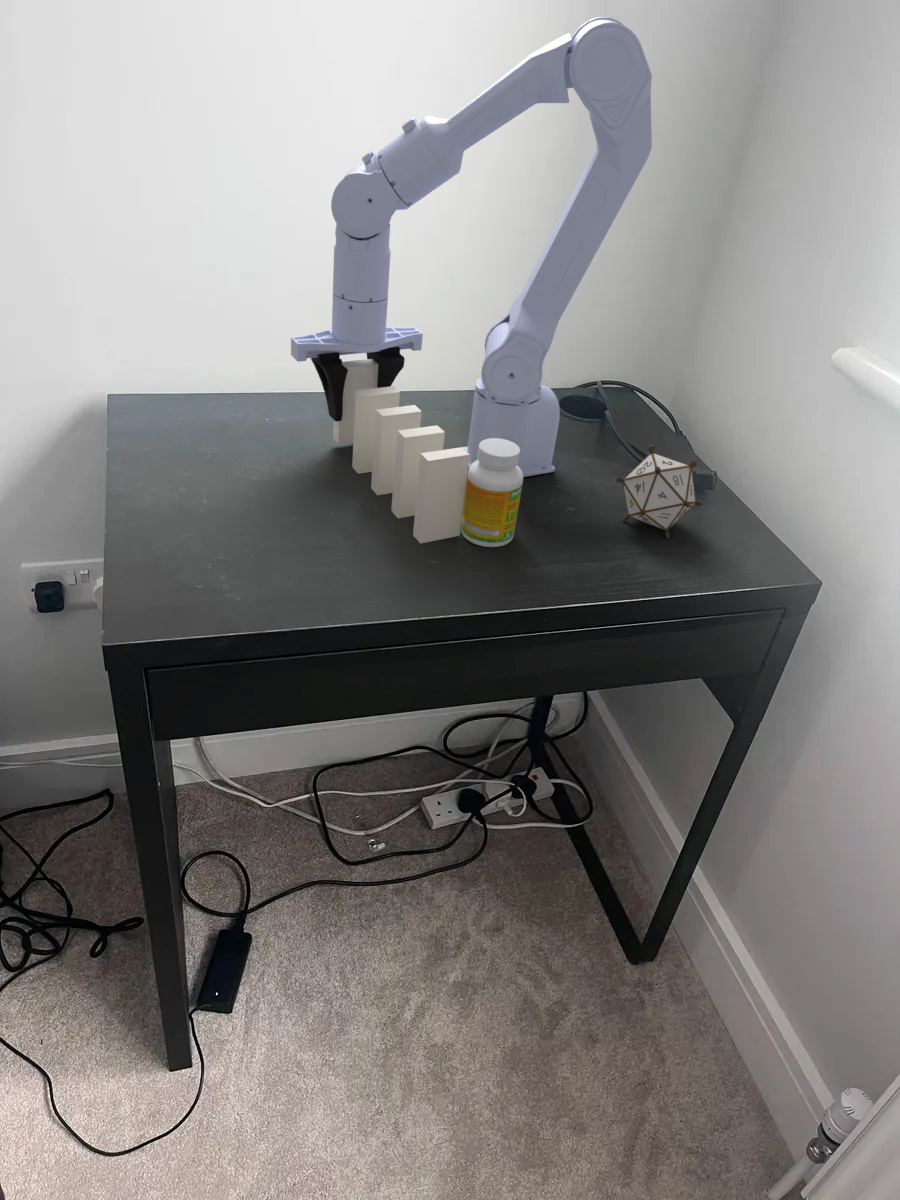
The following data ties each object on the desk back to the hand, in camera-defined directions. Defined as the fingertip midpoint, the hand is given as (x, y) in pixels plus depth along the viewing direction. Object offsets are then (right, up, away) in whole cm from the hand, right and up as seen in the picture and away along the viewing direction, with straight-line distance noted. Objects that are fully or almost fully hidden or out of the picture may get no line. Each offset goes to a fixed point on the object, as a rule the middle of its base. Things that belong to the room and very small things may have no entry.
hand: (354, 415), depth 103 cm
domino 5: (+9, -14, -12) cm, 21 cm away
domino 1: (0, -2, +2) cm, 3 cm away
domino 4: (+7, -12, -8) cm, 16 cm away
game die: (+32, -13, -5) cm, 35 cm away
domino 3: (+5, -9, -5) cm, 11 cm away
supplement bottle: (+14, -14, -11) cm, 23 cm away
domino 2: (+2, -6, -2) cm, 7 cm away
